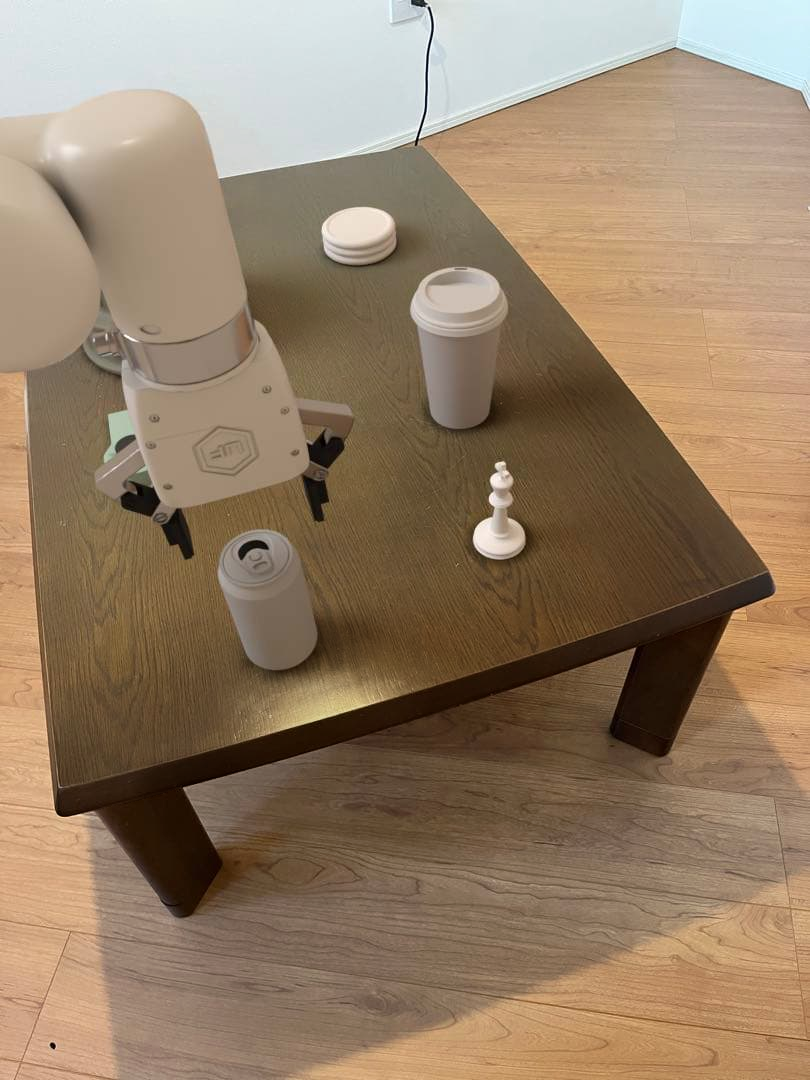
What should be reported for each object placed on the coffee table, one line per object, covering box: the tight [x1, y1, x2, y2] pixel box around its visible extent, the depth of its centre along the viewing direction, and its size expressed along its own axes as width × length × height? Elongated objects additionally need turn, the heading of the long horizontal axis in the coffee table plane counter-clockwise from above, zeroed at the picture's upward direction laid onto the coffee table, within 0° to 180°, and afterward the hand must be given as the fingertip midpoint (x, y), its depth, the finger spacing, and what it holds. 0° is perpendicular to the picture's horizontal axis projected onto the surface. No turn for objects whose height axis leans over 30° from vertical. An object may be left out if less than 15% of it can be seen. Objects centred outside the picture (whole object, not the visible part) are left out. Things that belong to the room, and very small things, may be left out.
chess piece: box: [472, 460, 526, 561], centre depth 75 cm, size 5×5×10 cm
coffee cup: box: [409, 266, 509, 430], centre depth 85 cm, size 10×10×15 cm
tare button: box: [115, 434, 136, 454], centre depth 85 cm, size 3×3×2 cm
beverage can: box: [217, 528, 318, 671], centre depth 68 cm, size 6×6×12 cm
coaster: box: [321, 206, 397, 266], centre depth 113 cm, size 10×10×4 cm
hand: (252, 526), depth 61 cm, fingers open, 9 cm apart
